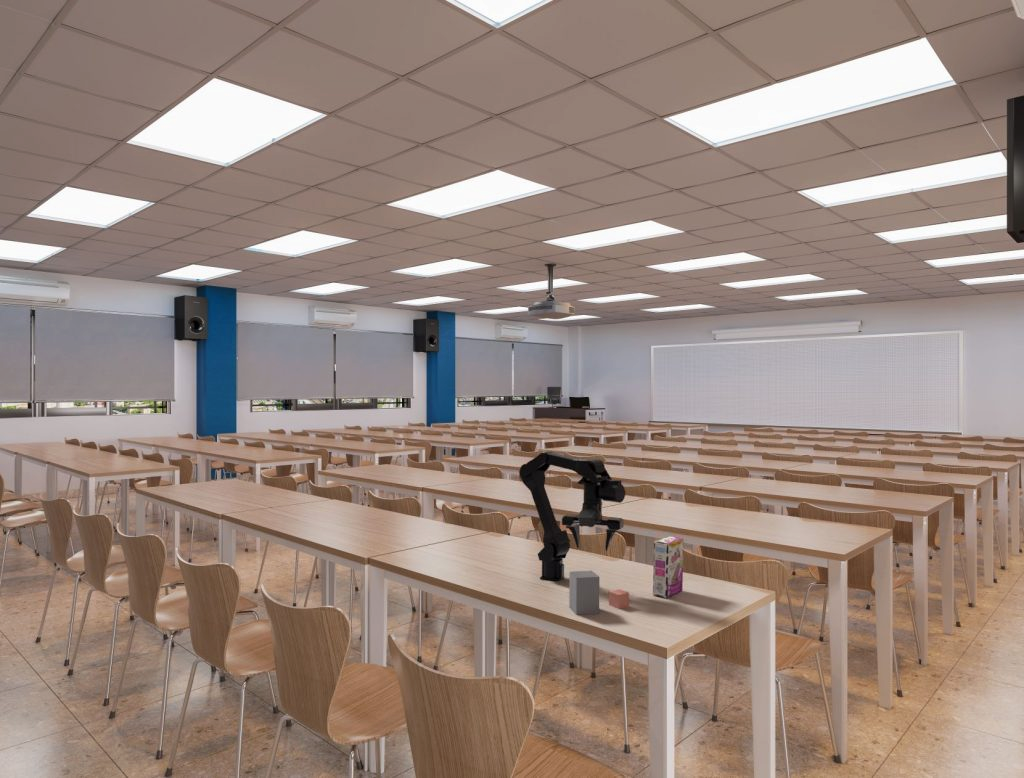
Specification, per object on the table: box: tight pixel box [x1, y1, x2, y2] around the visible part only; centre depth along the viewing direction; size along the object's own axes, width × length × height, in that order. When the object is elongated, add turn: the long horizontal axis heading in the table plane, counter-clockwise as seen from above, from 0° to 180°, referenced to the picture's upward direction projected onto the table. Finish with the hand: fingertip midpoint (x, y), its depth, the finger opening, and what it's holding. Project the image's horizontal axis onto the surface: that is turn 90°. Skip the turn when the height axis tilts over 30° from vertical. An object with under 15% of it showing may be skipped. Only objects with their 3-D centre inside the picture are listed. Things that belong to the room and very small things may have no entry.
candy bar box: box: [652, 536, 684, 599], centre depth 195 cm, size 11×5×16 cm, turn 141°
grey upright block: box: [568, 570, 600, 616], centre depth 178 cm, size 7×7×10 cm
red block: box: [608, 588, 630, 610], centre depth 182 cm, size 4×4×4 cm
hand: (592, 549), depth 201 cm, fingers open, 9 cm apart
